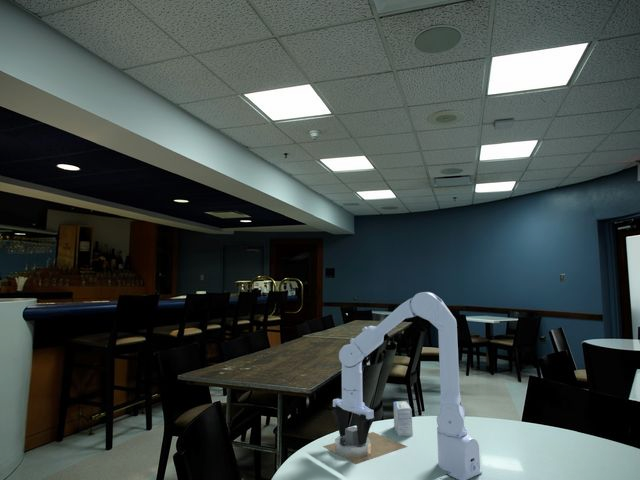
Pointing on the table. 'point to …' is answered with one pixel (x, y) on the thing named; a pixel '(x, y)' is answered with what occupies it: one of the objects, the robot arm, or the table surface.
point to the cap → (351, 436)
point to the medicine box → (403, 419)
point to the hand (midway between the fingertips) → (352, 439)
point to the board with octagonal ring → (364, 448)
